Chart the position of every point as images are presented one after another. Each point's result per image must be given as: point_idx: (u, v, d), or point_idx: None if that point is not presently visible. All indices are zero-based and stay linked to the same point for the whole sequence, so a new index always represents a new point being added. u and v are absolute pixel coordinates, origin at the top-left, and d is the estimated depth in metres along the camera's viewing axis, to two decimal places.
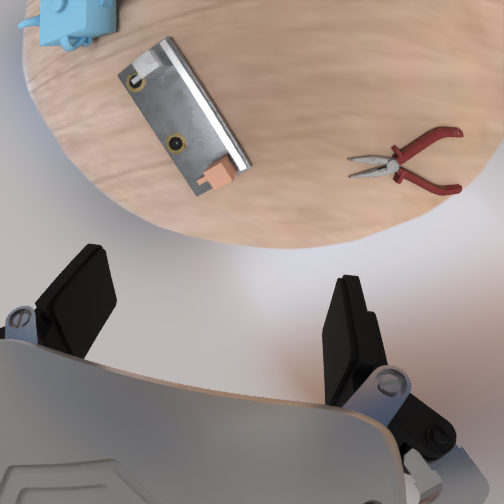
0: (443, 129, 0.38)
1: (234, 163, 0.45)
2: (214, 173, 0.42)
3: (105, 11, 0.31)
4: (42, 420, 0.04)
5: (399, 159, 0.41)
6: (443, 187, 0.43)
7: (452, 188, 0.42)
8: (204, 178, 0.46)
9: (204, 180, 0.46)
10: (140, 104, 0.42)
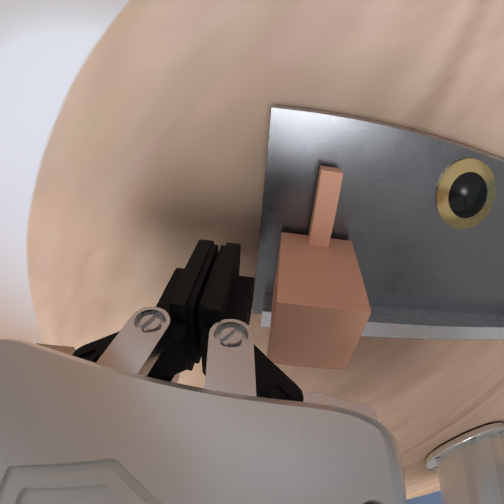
0: None
1: None
2: (334, 339, 0.10)
3: None
4: (42, 420, 0.04)
5: None
6: None
7: None
8: (329, 206, 0.11)
9: (323, 200, 0.11)
10: None
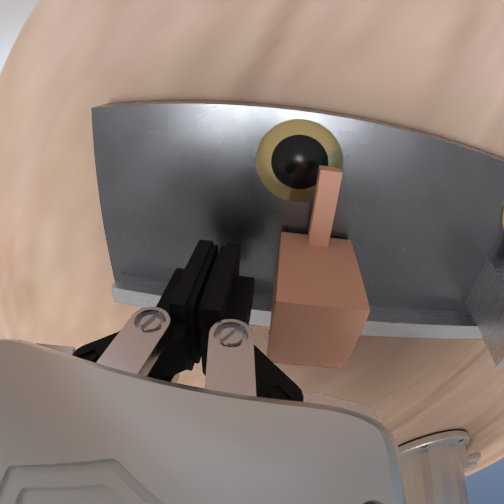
0: None
1: (139, 268, 0.15)
2: (334, 338, 0.10)
3: None
4: (42, 420, 0.04)
5: None
6: None
7: None
8: (328, 206, 0.11)
9: (322, 200, 0.11)
10: (486, 168, 0.10)
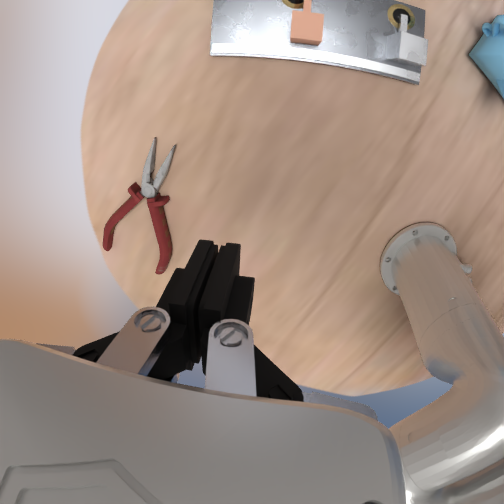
0: (167, 257, 0.45)
1: (226, 40, 0.29)
2: (314, 25, 0.23)
3: (498, 75, 0.22)
4: (42, 420, 0.04)
5: (152, 201, 0.40)
6: (112, 231, 0.45)
7: (108, 241, 0.45)
8: (308, 4, 0.24)
9: (306, 3, 0.24)
10: None
